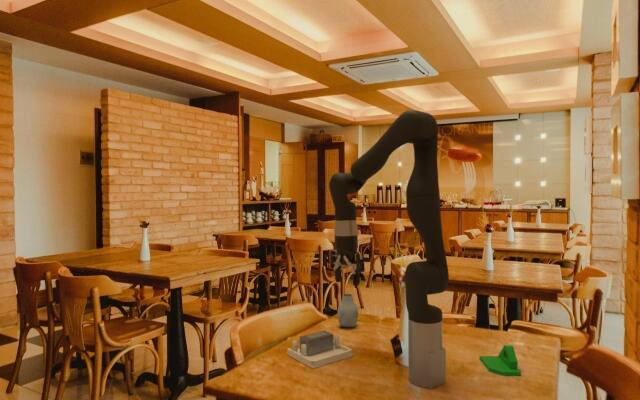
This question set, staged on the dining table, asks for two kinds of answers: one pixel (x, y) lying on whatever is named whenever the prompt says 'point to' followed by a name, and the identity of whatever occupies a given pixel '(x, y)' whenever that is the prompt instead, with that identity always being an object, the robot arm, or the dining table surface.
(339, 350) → the tray
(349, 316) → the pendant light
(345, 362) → the dining table surface
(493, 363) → the bracket
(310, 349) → the block
